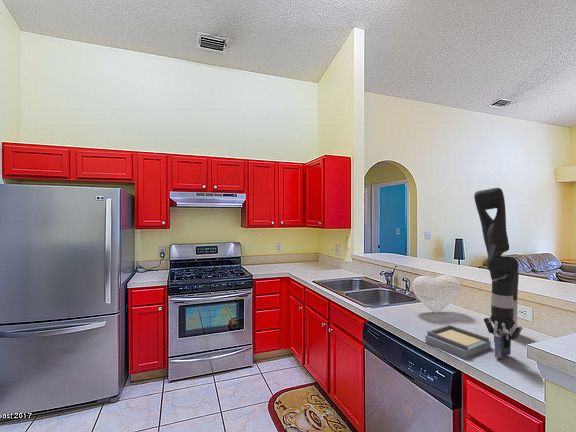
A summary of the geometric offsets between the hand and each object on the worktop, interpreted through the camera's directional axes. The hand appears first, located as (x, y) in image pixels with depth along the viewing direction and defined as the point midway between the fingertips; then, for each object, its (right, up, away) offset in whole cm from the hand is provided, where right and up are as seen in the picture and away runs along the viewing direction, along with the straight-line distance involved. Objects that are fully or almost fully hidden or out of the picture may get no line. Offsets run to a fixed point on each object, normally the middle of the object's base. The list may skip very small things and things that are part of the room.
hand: (502, 346), depth 122 cm
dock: (-12, -5, +12) cm, 17 cm away
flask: (0, -4, 0) cm, 4 cm away
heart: (0, -5, +56) cm, 56 cm away
